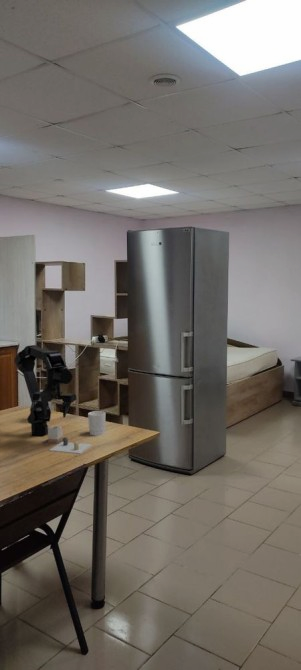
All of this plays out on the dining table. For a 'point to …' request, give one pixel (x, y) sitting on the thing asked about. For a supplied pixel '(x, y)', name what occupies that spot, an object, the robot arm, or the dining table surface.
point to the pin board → (70, 447)
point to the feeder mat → (52, 442)
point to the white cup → (97, 423)
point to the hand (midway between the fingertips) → (54, 416)
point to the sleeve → (55, 434)
